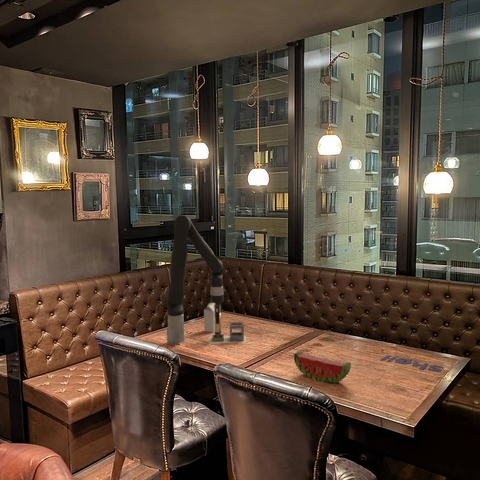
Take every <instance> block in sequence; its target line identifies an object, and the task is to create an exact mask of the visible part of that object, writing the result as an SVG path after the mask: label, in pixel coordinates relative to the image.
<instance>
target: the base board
mask: <svg viewBox="0 0 480 480" xmlns="http://www.w3.org/2000/svg"><path fill="white" fill-rule="evenodd" d="M212 336H213V335H210V336H209V337H208V344H210V345H212V344H213V345H214V344H217V345H218V344H247V336H246V335H244V341H230V335H224V341H213V342H212Z"/></svg>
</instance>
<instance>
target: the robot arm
mask: <svg viewBox="0 0 480 480" xmlns="http://www.w3.org/2000/svg"><path fill="white" fill-rule="evenodd" d="M173 227H174V233H173V235H174V237H173V242H172V243H173V244H172V250H171V256H170V285H169V287H168V289H167V291H166V309H167V327H166V344H168V345H170V346H180V344H182V343H183V342H184V341H185V320H184V318H185V316H184V313H185V312H184V301H183V300H184V281H185V275H186V271H187V270H186V269H187V263H188V239H189V241H190V242H191V243H192V245H193V247H194V248H195V250H196V252H197V253H198V254H199V256H201V258H202V259H203V260H204V261H205V263H206V265H207V266H208V269H209V270H210V271H211V277H210V303H215V305H214V311H215V318H216V324H219V323H220V313H221V308H222V303H224V301H225V298H224V297H225V295H224V294H225V293H224V292H225V290H224V278H223V277H224V263H223V261H222V260H220V259H219V258H217V256H216V255H215V253H214V251H213V250H212V248H210V246H209V245H208V243H207V242H206V241H205V240H204V238H203V237H202V236H201V234H199V232H198V231H197V229H196V228H195V225H194V224H193V221H192V220H191V218H190V217H189V216H188V215H183V214H181V215H178V216H176V217H175V219H174V223H173ZM216 314H219V315H216Z"/></svg>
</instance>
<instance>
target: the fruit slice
mask: <svg viewBox="0 0 480 480" xmlns="http://www.w3.org/2000/svg"><path fill="white" fill-rule="evenodd" d="M293 360H294V364H295V366H296V368H297V369H298V370H299V372H301V374H303V375H305V376H306V377H308V378H310V379H311V378H312V380H314V379H316V380H315V381H318V380H319V381H318V382H322V381H323V383H329V384H330V383H338V382H341V381H342V380H344V379H345V378H346V377H347V375H348V374H349V373H350V370H351V368H352V364H351V362H347V361H346V362H343V361H342V362H341V361H337V360H331V359H328V358H325V357H319V356H315V355H313V354H308V353H304V352H303V351H301V350H299V351H296V352H295V353H293Z"/></svg>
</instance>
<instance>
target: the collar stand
mask: <svg viewBox="0 0 480 480" xmlns="http://www.w3.org/2000/svg"><path fill="white" fill-rule="evenodd" d="M244 328H245V327H244V322H243V321H236V322H232V321H231V322H229V336H230V341H244V334H245V333H244V331H245V330H244ZM234 329H235V330H237V329H238V330H239V329H240V330H241V331H234V332H233V330H234ZM211 336H212V342H213V341H224V336H225V335H224V334H221V338H215V334H212V335H211Z"/></svg>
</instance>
